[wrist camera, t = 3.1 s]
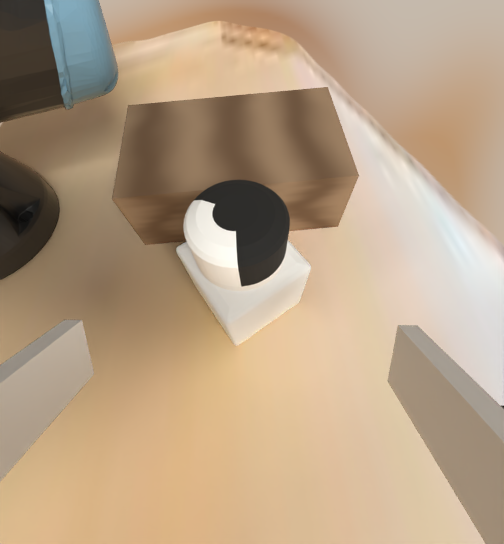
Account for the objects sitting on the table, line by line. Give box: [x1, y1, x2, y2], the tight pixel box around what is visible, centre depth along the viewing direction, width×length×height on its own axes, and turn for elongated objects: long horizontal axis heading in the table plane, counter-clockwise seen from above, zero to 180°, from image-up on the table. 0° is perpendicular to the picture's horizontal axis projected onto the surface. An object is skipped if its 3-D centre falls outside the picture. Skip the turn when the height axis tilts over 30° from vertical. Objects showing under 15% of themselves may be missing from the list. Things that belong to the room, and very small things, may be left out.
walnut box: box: [112, 87, 359, 245], centre depth 28 cm, size 20×12×7 cm, turn 95°
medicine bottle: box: [176, 180, 311, 345], centre depth 20 cm, size 7×7×12 cm
